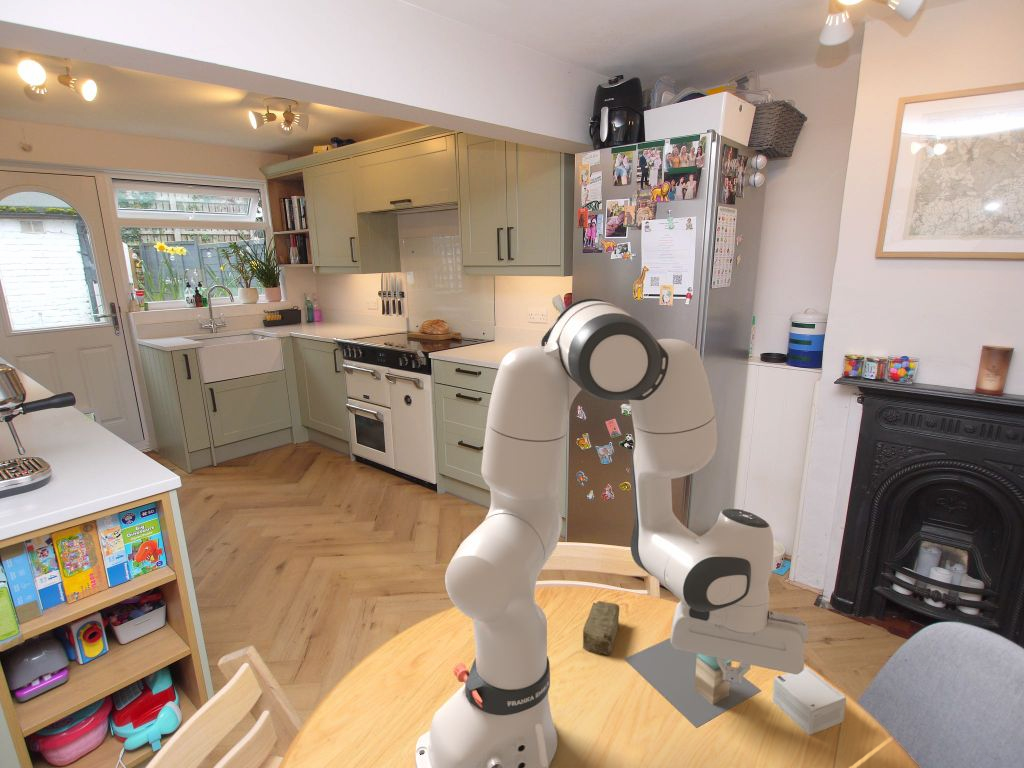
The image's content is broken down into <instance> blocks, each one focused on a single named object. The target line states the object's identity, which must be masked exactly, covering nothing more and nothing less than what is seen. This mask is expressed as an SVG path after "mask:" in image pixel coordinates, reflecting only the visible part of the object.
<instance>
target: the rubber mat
mask: <svg viewBox="0 0 1024 768" xmlns="http://www.w3.org/2000/svg"><path fill="white" fill-rule="evenodd" d="M623 660H625V662H626V663H628V665H629V666H630V667H632V668H633V669H634V671H636V672H637V674H639V675H640V676H641V677H642V678H643V679H644V680H645V681H647V683H649V685H650V686H652V688H654V689H655V690H656V691H657V692H658V693H659V694H660V695H661V696H662V697H663V698H664V699H665V700H666V701H667V702H668V703H669V704H670V705H671V706H673V707H674V708H675V709H676V710H677V711H678V712H679V713H680V714H681V716H684V718H685V719H686V720H687V721H688V722H689V723H691V725H693V726H694V727H695V729H697V728H699V727H701V726H703V725H704V724H706V723H707V722H710V721H711V720H713V719H715V718H716V717H718V716H721V715H722V714H724V713H725V712H728V711H729V710H731V709H732V708H734V707H736V706H737V705H739V704H741V703H744V701H746V700H748V699H749V698H752V697H753V696H755V695H757V694H759V693H760V692H762V689H760V688H759V687H758V686H756V685H755V684H754V683H752V682H751V681H750V680H748V679H747V678H746V677H744V676H742V682H741V684H739V683H735V682H730V687H729V696H728V697H726V698H724V699H722V700H720V701H719V702H717V703H715V704H713V705H712V704H711V703H710V702H709V701H708V700H707V699H705V698H704V697H703V696H702V695H701V694H700V693H699V692H697V691H696V690H695V675H696V660H697V653H692V652H687V651H683V650H678V649H675V648H674V647H673V645H672V644H671V637H669V638H667V639H665V640H663V641H660V642H658V643H655V644H654V645H652V646H651V645H650V647H647V648H645V649H642V650H640V651H637V652H635V653H634V654H631V655H630V656H629V655H628V656H627V657H624V658H623Z"/></svg>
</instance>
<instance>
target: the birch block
mask: <svg viewBox="0 0 1024 768" xmlns="http://www.w3.org/2000/svg"><path fill="white" fill-rule="evenodd" d="M732 662H733V661H730V660H726V664H727V666H731V667H732ZM729 687H730V681H725V680H722V670H721V668H720V667H719V665H718V663H717V658H716V657H711V656H706V655H702V654H697V660H696V675H695V690H696V691H697V692H699V693H700V694H701V695H702V696H703V697H704V698H705V699H707V700H708V701H709V702H710V703H711V704H712V705H713V704H715V703H717V702H719V701H720V700H722V699H724V698H726V697H728V696H729Z"/></svg>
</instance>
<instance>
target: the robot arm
mask: <svg viewBox="0 0 1024 768" xmlns="http://www.w3.org/2000/svg"><path fill="white" fill-rule="evenodd" d="M540 341H541V342H540V344H541V346H536V345H527V346H521V347H517V348H515V349H511V350H510V351H509V352H508V353H507V354H505V355H504V357H503V358H502V360H501V361H500V364H499V367H498V369H497V372H496V376H495V378H494V379H495V380H494V383H493V386H492V391H491V395H490V399H489V405H488V410H487V411H488V412H487V419H486V427H485V433H484V434H485V435H484V442H483V452H482V458H481V459H482V460H481V468H480V472H481V476H482V479H483V480H484V482H485V484H486V485H487V486H488V487H489V490H490V506H489V510H488V513H487V514H486V515H485V519H483V521H482V522H481V524H479V525H478V526H477V527H476V529H474V530H473V531H472V532H471V533H470V534H469V535H468V536H467V537H466V538H465V539H464V540H462V542H461V543H460V545H459V547H458V548H457V549H456V551H455V553H454V554H453V556H452V558H451V560H450V562H449V564H448V565H447V567H446V570H445V571H446V572H445V575H444V582H445V583H444V584H445V590H446V592H447V594H448V597H449V598H450V600H451V602H452V603H453V605H454V606H455V607H456V609H457V610H459V611H460V612H461V613H462V614H463V615H465V616H466V617H468V618H470V619H471V620H472V624H473V631H474V650H475V652H474V653H475V657H474V660H473V663H472V665H471V668H470V670H468V669H467V666H466V665H465V664H464V663H462V662H461V663H457V664H456V665H455V667H453V674H454V676H455V677H456V678H457V680H458V682H460V683H464V684H463V685H462V686H461V687H460V688H459V689H458V690H457V691H456V692H455V693H454V694H453V695H452V696H451V697H450V698H449V699H448V700H447V701H446V702H445V703H444V704H443V705H442V706H441V707H440V708H439V709H438V710H437V711H436V712H435V713H434V714H433V717H432V719H431V720H432V721H431V724H430V729H429V730H428V731H427V732H425V733H423V734H422V735H420V737H419V738H417V742H416V745H415V753H414V754H415V755H414V758H415V759H414V761H416V763H415V768H416V767H417V768H550V765H551V763H552V760H553V759H554V757H555V755H556V752H557V747H558V733H557V730H556V727H555V724H554V721H553V718H552V712H551V707H550V700H549V690H550V686H551V669H550V667H551V665H550V660H549V656H548V622H547V620H548V619H547V616H546V614H545V612H544V610H543V609H542V608H541V606H540V605H538V603H536V599H535V598H536V597H535V591H536V586H537V585H536V584H537V582H538V579H539V575H540V572H541V571H542V570H543V568H544V566H545V565H546V563H547V562H548V560H549V558H551V556H552V554H554V552H555V550H556V548H557V545H558V542H559V538H560V535H561V533H562V532H561V531H562V527H563V517H562V514H561V510H560V508H559V507H560V506H559V505H560V503H559V483H560V482H559V481H560V474H561V473H560V472H561V468H562V467H561V466H562V460H563V454H564V450H565V449H564V446H565V441H566V436H567V435H566V434H567V428H568V421H569V420H568V419H569V411H571V407H572V404H573V402H574V399H575V398H576V397H577V395H578V394H579V393H580V392H581V391H584V392H585V393H586V394H589V395H591V396H592V397H594V398H597V399H602V400H606V401H625V400H626V401H627V400H628V402H629V404H630V411H631V419H632V425H633V430H634V440H635V441H634V445H633V447H632V451H631V459H630V464H631V470H630V472H631V482H632V483H631V484H632V499H633V508H634V509H633V513H634V514H633V515H634V516H633V517H634V519H633V521H634V522H633V527H632V528H633V529H632V533H631V539H630V552H631V556H632V559H633V561H634V562H635V564H636V565H637V566H638V567H639V568H640V569H642V570H643V571H645V572H646V573H648V574H649V575H650V576H652V577H653V578H655V579H656V580H657V581H658V582H660V583H661V584H662V585H663V586H664V587H665V588H666V589H667V590H668V591H670V592H671V593H673V594H674V595H675V597H677V598H678V599H679V600H680V601H679V602H678V603H677V605H676V607H675V609H674V614H673V617H672V623H671V630H670V638H671V644H672V645H673V647H674V648H675V649H678V650H683V651H687V652H692V653H697V654H702V655H706V656H711V657H716V658H717V663H718V665H719V667H720V668H721V670H722V680H725V681H730V682H735V683H739V684H741V682H742V676H743V677H744V676H745V675H746V674H747V673H748V672H749V671H750V670H751V666H755V667H757V668H759V667H760V668H764V669H769V670H773V671H778V672H783V673H786V674H787V673H791V674H799V673H801V672H802V671H803V670H804V667H805V649H804V644H805V643H806V642H807V640H808V637H809V632H810V631H809V630H810V629H809V625H808V624H807V623H806V622H805V621H804V620H802V619H800V617H799V616H796V615H793V614H784V613H780V612H776V611H770V610H769V607H770V597H771V596H770V589H769V581H770V578H771V576H772V573H773V565H774V535H773V531H772V527H771V525H770V524H769V522H767V520H766V519H765V520H764V519H763V518H762V517H760V516H758V515H756V514H755V513H752V512H751V511H750V512H749V511H746V510H744V509H737V508H724V509H722V510H721V511H720V512H719V515H718V518H717V520H716V523H715V524H714V525H713V526H712V527H711V528H710V529H709V530H708V531H706V532H705V533H704V534H702V535H700V536H699V535H698V534H696V533H695V532H693V531H691V530H690V529H689V528H687V527H686V526H685V525H684V524H683V523H682V522H680V520H679V519H678V518H677V517H676V515H675V513H674V511H673V498H672V497H673V493H672V479H678V478H682V477H686V476H689V475H691V474H694V473H696V472H697V471H700V470H702V468H705V466H706V465H707V464H709V462H710V461H711V460H712V458H713V457H714V455H715V453H716V450H717V446H718V445H717V444H718V429H717V421H716V419H717V418H716V413H715V406H714V402H713V401H714V400H713V395H712V391H711V387H710V382H709V380H708V379H709V378H708V375H707V373H706V370H705V366H704V364H703V360H702V358H701V355H700V352H699V351H698V350H697V348H695V347H694V346H693V344H691V343H689V342H687V341H684V340H682V339H679V338H678V339H677V338H660V339H656V337H654V336H653V334H652V333H651V332H650V330H649V329H648V328H647V327H646V325H644V324H643V323H642V322H641V321H639V320H638V319H636V318H634V317H632V315H631V314H630V313H629V312H628V311H626V310H625V308H624V309H623V308H622V307H620V306H618V305H615V304H613V303H611V302H607V301H605V300H601V299H599V298H598V299H597V298H586V299H581V300H577V301H576V302H573V303H571V304H570V305H569V306H567V307H566V308H565V309H564V310H563V311H561V313H560V314H559V315H558V317H557V319H556V320H555V321H554V323H553V324H552V325H551V326H550V328H548V330H547V332H546V333H545V334H544V335H543V336H542V339H541V340H540ZM726 660H730V661H732V662H734V663H735V662H736V663H738V664H739V663H740V664H739V665H738V666H737V667H736V666H732V665H731V666H727V664H726ZM421 753H424V754H421ZM420 754H421V755H420Z"/></svg>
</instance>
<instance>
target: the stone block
mask: <svg viewBox="0 0 1024 768" xmlns="http://www.w3.org/2000/svg"><path fill="white" fill-rule="evenodd" d="M619 618H620V605H619V604H616V603H615V602H614V603H611V602H607V601H606V602H605V601H601V600H599V601H597V602H592V606H591V608H590V611H589V613H588V616H587V619H586V621H585V623H584V626H583V629H582V648H583V650H584V651H587V652H589V653H593V654H597V655H599V654H603V655H606V656H609V655H610V654H611V653H612V651H613V647H614V644H615V643H614V642H615V639H616V637H617V633H618V629H619Z"/></svg>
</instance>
